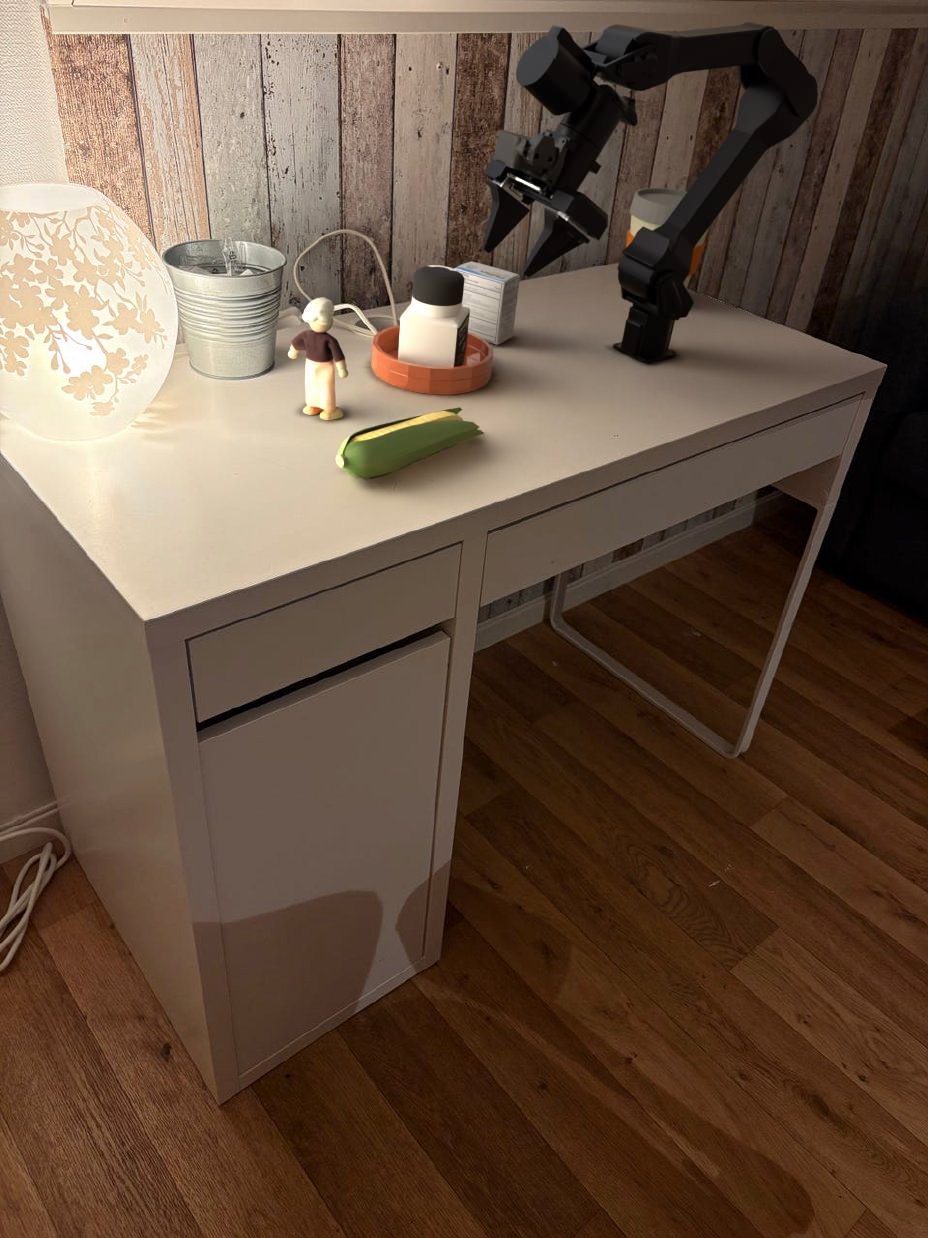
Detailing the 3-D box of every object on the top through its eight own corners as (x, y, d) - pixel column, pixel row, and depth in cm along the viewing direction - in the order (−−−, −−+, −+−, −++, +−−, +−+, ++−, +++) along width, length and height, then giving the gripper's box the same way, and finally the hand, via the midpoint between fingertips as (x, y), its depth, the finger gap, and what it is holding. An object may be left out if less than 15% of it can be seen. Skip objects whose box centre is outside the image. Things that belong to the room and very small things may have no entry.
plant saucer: (440, 340, 129) (442, 316, 127) (515, 381, 120) (518, 356, 118) (348, 358, 121) (348, 333, 119) (420, 403, 112) (422, 377, 110)
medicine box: (513, 338, 133) (522, 274, 127) (497, 346, 129) (504, 281, 124) (465, 322, 136) (471, 259, 130) (447, 330, 132) (453, 266, 127)
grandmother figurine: (357, 412, 108) (361, 300, 101) (343, 425, 105) (346, 310, 98) (295, 397, 110) (294, 285, 102) (279, 410, 107) (277, 295, 99)
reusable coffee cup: (674, 317, 147) (698, 213, 138) (600, 295, 152) (619, 194, 143) (704, 299, 156) (729, 200, 147) (634, 279, 161) (653, 183, 152)
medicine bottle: (453, 383, 117) (463, 283, 110) (396, 373, 118) (402, 273, 111) (465, 362, 123) (475, 266, 116) (410, 353, 124) (417, 256, 117)
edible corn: (322, 474, 96) (323, 432, 93) (464, 426, 108) (468, 388, 106) (355, 495, 93) (357, 452, 91) (497, 444, 106) (502, 405, 103)
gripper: (490, 81, 111) (419, 206, 115) (582, 114, 98) (499, 253, 102) (551, 136, 118) (483, 251, 123) (644, 173, 106) (564, 300, 110)
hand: (504, 262), depth 114 cm, fingers open, 9 cm apart
